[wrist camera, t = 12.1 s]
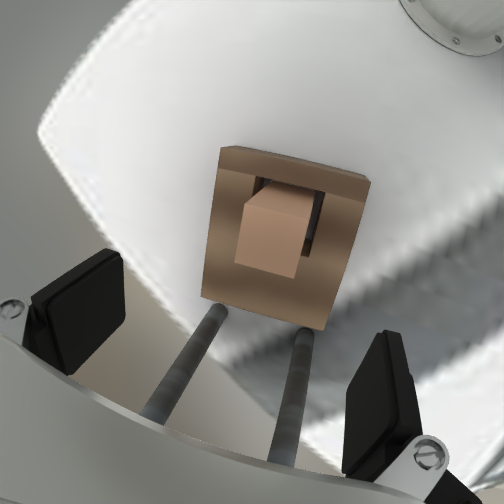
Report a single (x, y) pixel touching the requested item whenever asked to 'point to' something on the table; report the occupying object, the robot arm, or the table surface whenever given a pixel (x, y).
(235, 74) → the table surface
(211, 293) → the socket block
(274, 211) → the peg
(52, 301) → the robot arm
